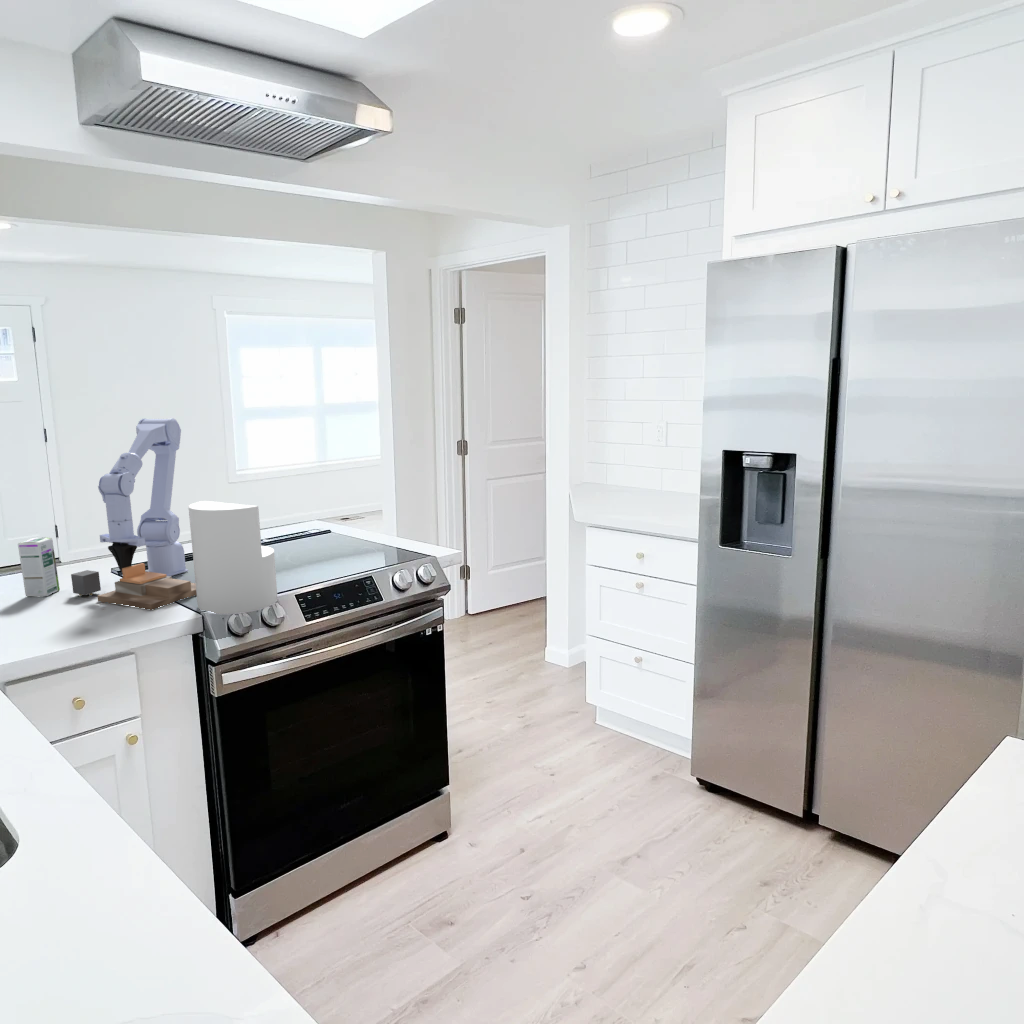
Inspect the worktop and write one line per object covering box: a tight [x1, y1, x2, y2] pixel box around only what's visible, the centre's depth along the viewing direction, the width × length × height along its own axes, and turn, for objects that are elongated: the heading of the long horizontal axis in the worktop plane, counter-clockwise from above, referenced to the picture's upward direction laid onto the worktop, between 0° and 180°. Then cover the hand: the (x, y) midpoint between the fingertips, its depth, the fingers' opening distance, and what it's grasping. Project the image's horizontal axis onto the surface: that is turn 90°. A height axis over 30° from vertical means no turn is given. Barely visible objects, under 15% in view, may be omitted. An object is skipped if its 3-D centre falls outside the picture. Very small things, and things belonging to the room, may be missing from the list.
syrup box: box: [17, 537, 60, 597], centre depth 202 cm, size 6×6×14 cm
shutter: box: [119, 562, 167, 584], centre depth 201 cm, size 8×8×3 cm
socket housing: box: [97, 576, 197, 611], centre depth 200 cm, size 18×19×4 cm
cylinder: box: [187, 500, 278, 615], centre depth 191 cm, size 19×19×25 cm
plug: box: [70, 569, 102, 597], centre depth 202 cm, size 4×7×6 cm, turn 65°
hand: (125, 571), depth 203 cm, fingers closed
